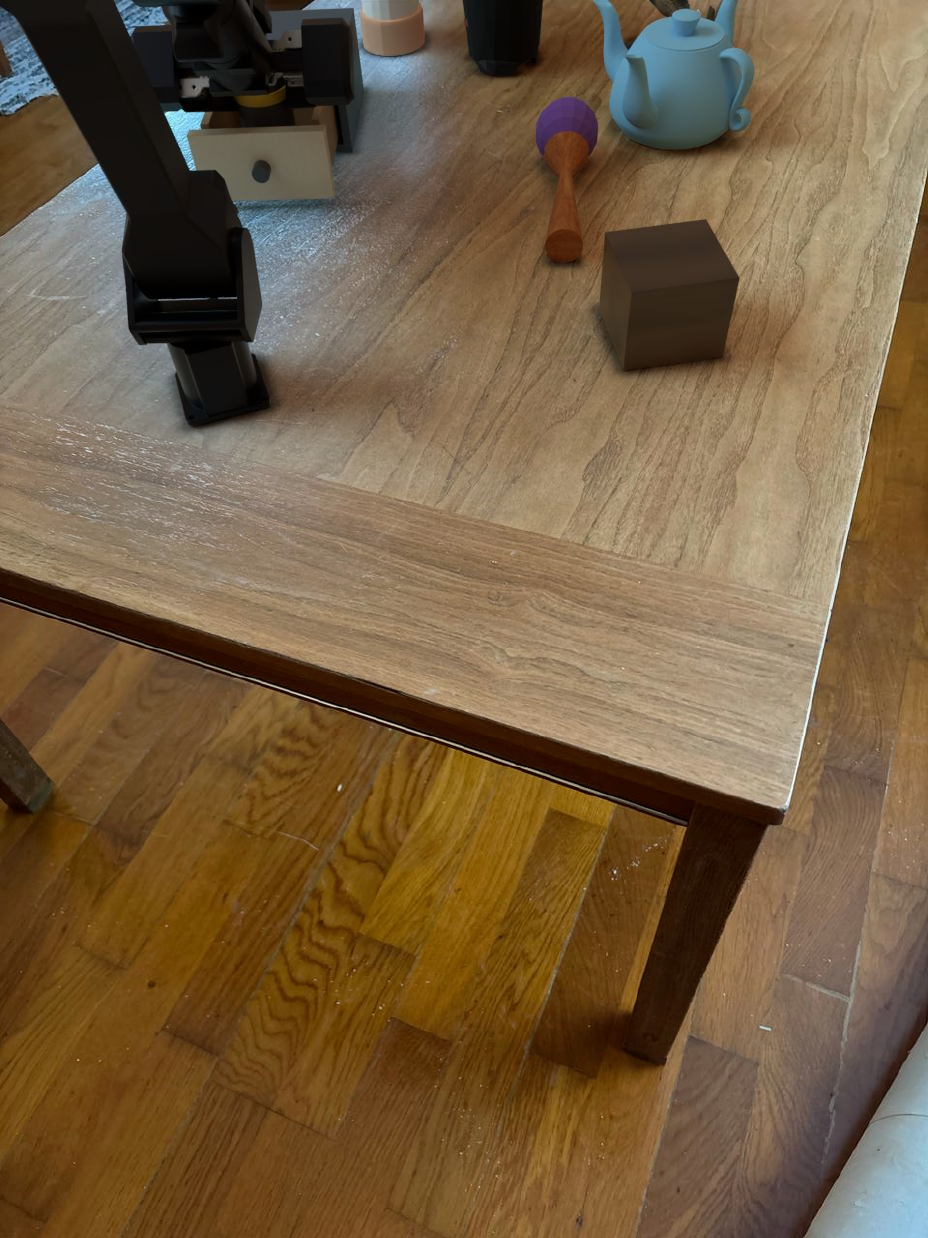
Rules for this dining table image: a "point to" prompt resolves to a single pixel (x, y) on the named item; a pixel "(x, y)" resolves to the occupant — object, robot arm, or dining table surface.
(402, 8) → the pepper shaker
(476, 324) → the dining table surface
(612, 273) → the block stand
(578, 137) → the purple maraca
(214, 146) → the drawer
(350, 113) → the cabinet
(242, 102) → the canister
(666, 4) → the eagle figurine
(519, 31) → the portable speaker
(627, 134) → the teapot
